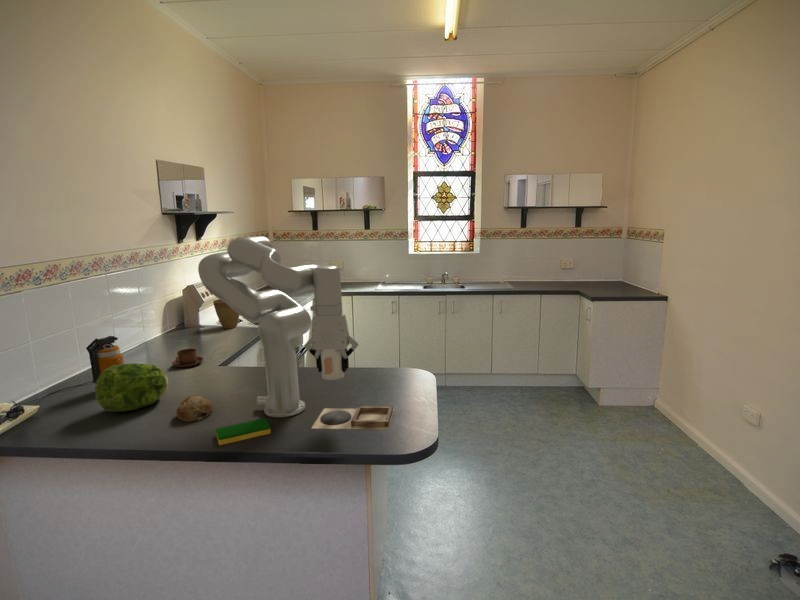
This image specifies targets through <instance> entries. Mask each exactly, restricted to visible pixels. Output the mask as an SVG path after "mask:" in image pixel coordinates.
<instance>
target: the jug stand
mask: <svg viewBox="0 0 800 600" xmlns="http://www.w3.org/2000/svg"><path fill="white" fill-rule="evenodd" d="M394 411H395V408H394V406H384V405H383V406H377V405H376V406H373V405H372V406H371V405H369V406H368V405H367V406H363V405H362V406H361V405H360V406H357V408H336V407H335V408H334V407H333V408H330V407H329V408H326V407H325V408H323V410H322V411H321V412H320V414H319V415H318V417H317V418H316V420H315V421H314V423H313V424H312V426H311V429H315V430H325V429H327V430H379V431H380V430H382V431H383V430H387V431H388V430H389V429H390V425H391V423H392V422H391V421H392V418H393V415H394ZM311 429H310V430H311Z"/></svg>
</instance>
